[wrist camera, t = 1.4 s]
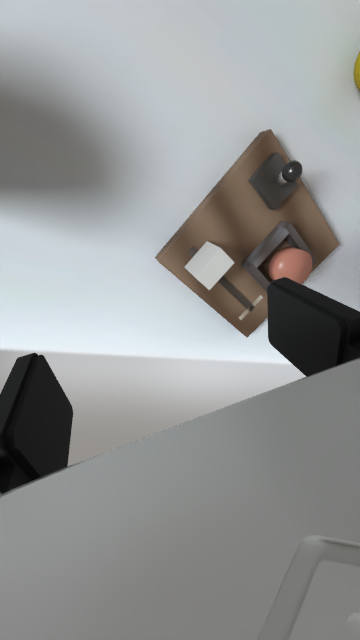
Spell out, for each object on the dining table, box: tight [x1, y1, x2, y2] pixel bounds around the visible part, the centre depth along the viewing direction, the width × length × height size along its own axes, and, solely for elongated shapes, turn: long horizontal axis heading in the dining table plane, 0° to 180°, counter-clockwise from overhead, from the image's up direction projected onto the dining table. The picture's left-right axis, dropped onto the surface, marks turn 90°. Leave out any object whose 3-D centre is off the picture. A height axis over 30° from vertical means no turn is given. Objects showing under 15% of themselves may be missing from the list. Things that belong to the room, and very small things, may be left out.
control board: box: [155, 129, 339, 337], centre depth 33 cm, size 18×18×4 cm
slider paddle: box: [185, 241, 234, 290], centre depth 30 cm, size 4×2×4 cm, turn 136°
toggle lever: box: [274, 161, 302, 187], centre depth 26 cm, size 2×2×4 cm
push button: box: [269, 247, 312, 284], centre depth 32 cm, size 5×5×2 cm
